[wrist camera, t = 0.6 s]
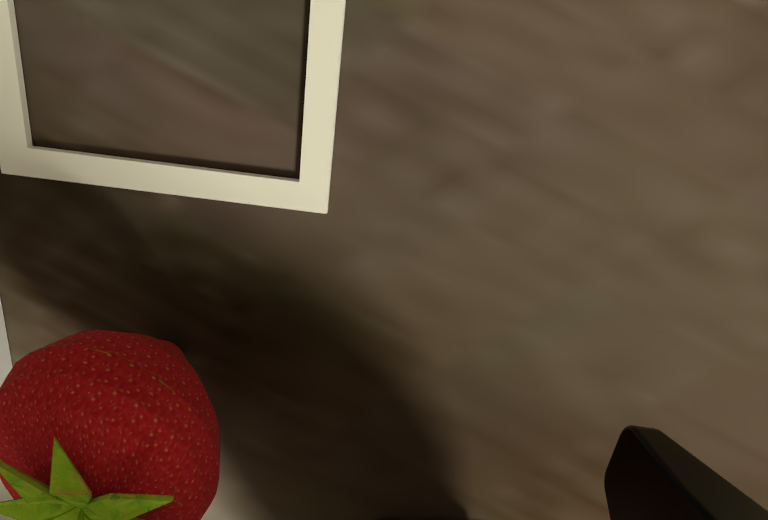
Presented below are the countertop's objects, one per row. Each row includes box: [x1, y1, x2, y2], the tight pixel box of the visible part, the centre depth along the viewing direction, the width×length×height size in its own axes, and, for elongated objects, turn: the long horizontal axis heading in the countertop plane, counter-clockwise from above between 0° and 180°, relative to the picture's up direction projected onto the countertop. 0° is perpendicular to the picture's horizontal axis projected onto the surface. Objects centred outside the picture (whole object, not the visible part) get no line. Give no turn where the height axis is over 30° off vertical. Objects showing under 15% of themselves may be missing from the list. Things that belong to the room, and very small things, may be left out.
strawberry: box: [0, 330, 220, 520], centre depth 18 cm, size 6×8×10 cm
